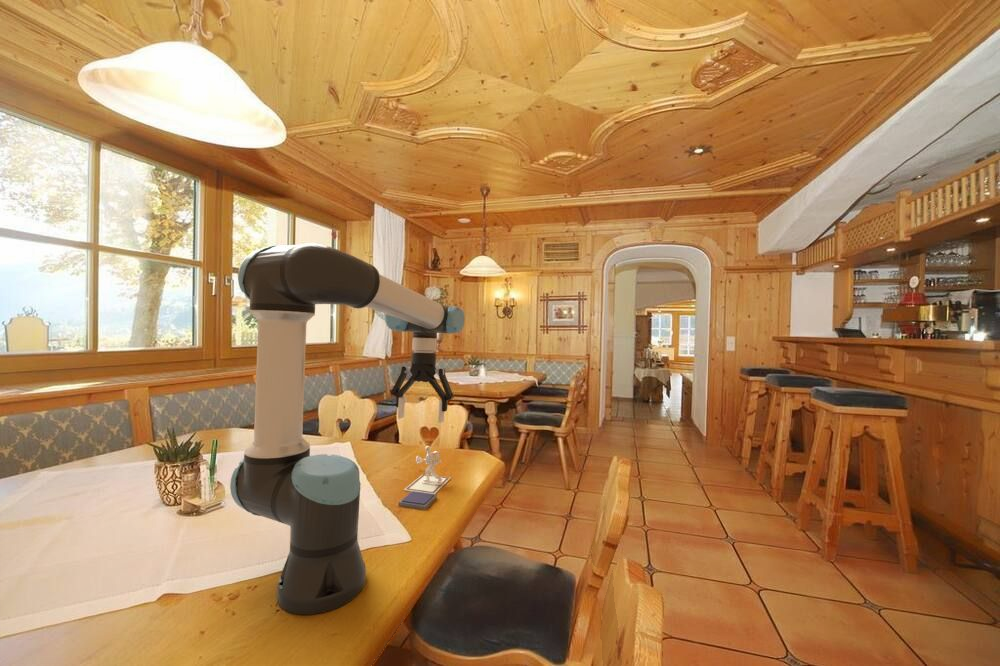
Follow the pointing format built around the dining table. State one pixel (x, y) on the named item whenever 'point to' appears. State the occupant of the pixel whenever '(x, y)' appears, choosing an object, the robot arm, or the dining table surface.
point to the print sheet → (426, 485)
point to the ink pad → (417, 500)
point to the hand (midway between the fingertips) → (420, 420)
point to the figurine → (430, 466)
